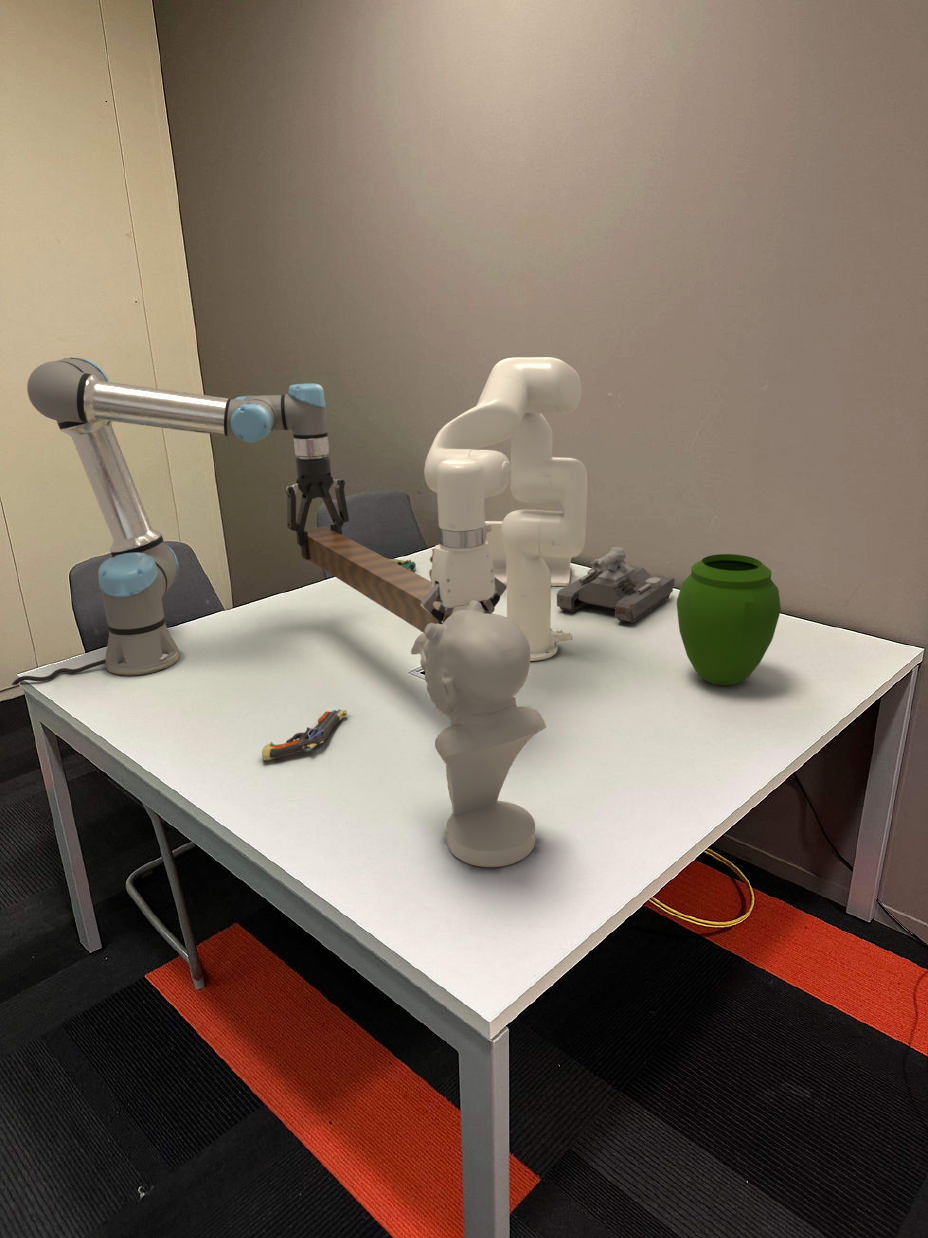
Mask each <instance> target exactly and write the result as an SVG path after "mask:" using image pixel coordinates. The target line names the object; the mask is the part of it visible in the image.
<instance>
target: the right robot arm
mask: <svg viewBox="0 0 928 1238" xmlns="http://www.w3.org/2000/svg"><path fill="white" fill-rule="evenodd" d="M582 394H583V385H582V380H581V378H580V375H579V373H578V372H577V370H576V369H574V368H573V367H572V366H571V365H570V364H568V362H567V363H566V362H565V361H564V360H561V359H559V358H556V357H550V356H549V357H507V358H505V359H502V360H500V361H498V362H497V363H496V364H494V366H493V367H492V369H491V371H490V373H489V375H488V378H487V380H486V383H485V385H484V387H483V389H482V392H481V394H480V396H479V399H478V400H477V404H476V405H475V406H474V407H472V408H470V409H467V410H466V411H465V412H462V413H461V414H460V415H458V416H456V417H455V418H453V419H452V420H450V421H449V422H447V423H446V424H444V426H442V428H440V430H439V431H438V432H437V434H436V436H435V438H434V440H433V442H432V444H431V446H430V447H429V451H428V453H427V455H426V458H425V463H424V467H423V469H424V470H423V472H424V473H423V475H424V480H425V484H426V485H427V487H428V488H429V490H430V491H432V492H434V493H436V500H437V502H436V503H437V520H438V521H437V522H438V523H437V524H438V539H439V540H438V541H439V542H438V543H439V544H436V545H435V546H434V554H433V560H432V562H431V569H432V572H431V579H430V581H431V590H430V592H429V593H428V594H427V595H426V597H425V598H424V599H423V600H422V601H421V603H420V605H421V606H422V607H423V608H424V609H425V610H426V611H427V612H428V613H429V614H431V615H432V616H433V617H434V618H436V619H437V620H438V624H443V623H444V622H445V620H446V619H447V618H448V617H450V616H451V615H452V612H453V609H454V607H459V606H463V605H467V604H469V603H470V601H472V600H474V601H478V602H480V603H481V605H482V608H483V609H485V610H487V611H488V612H490V613H492V614H494V612H495V610H496V609H495V608H496V606H497V605H498V603H499V602H500V600H501V597H502V596H503V594H504V593H505V591H506V617H507V618H509V619H511V620H512V621H513V622H514V623H515V624H516V625H517V626H518V627H519V628H520V629H521V630H522V632H523V633H524V634H525V636H526V638H527V640H528V643H529V646H530V652H531V653H530V655H531V656H530V662H535V661H536V662H537V661H543V660H547V659H550V658H552V657H554V656H555V655H556V654H557V652H558V643H559V642H568V641H569V642H570V641H572V640H573V633H572V632H571V631H563V629H556V630H553V629H552V628H551V625H552V621H551V618H552V616H551V613H552V609H551V608H552V586H551V574H550V571H549V568H548V566H547V564H546V563H545V561H544V560H543V558H542V557H541V556H547V557H564V558H571V559H572V558H577V557H578V556H580V555H581V554H582V552H583V551H584V548H585V545H586V544H585V543H586V534H587V516H588V515H587V513H588V511H587V510H588V493H589V492H588V491H589V489H588V488H589V485H588V484H589V481H588V472H587V468H586V465H585V464H584V463H583V462H582V461H581V460H579V459H578V458H573V457H555V456H554V455H553V443H554V442H553V439H554V433H553V429H552V427H551V425H550V424H549V422H548V420H547V419H546V417H545V416H544V414H550V415H552V414H553V415H566V414H567V415H568V414H572V413H574V412H575V411H576V410H577V408H578V407H579V405H580V403H581V399H582ZM509 439H510V460H509V458H508V457H507V456H506V454H504V452H501V451H497V450H494V449H481V448H486V447H489V446H493V445H497V444H499V443H501V442H504V441H506V440H509ZM509 484H510V485H509ZM508 485H509V486H510V493H511V496H512V497H513V499H514V500H516V501H518V502H521V503H527V504H528V503H529V504H542V505H559V506H561V507H562V509H563V511H561V510H546V509H530V508H529V509H528V508H526V509H523V508H522V509H516V510H513V511H510V512H509V513H508V514H506V515H505V517H504V518H503V520H502V521H503V522H502V540H503V545H504V551H505V558H506V573H507V585H505V584H504V583H502V582H501V581H500V580H498V579H497V578H495V577H494V567H493V560H492V554H491V550H490V546H489V543H488V541H486V534H487V533H488V532H491V526H490V524H487V525H486V524H485V521H486V508H485V507H486V506H485V505H486V503H485V500H486V499H488V498H493V497H495V496H498V495H501V493H503V492H504V491H505V490H506V488H507V487H508ZM435 601H436V602H440V603H439V606H438V609H436V608H435V607H434V606H433V603H434V602H435Z"/></svg>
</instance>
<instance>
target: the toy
mask: <svg viewBox="0 0 928 1238" xmlns="http://www.w3.org/2000/svg"><path fill="white" fill-rule="evenodd" d="M626 557H627V556H626V551H625V549H624V548H622V547H621V546H614V547H612V548H611V549H610V550H609V552H608V553H607V554H605V555H604V556H601V557H599V558H598V559H597V557H596V558H594V559H593V560H592V561H590V562H589V563H590V564H591V565H592V567H591V568H590V569H589V570H587V573H586V575H584V576H582V577H580V578H578V579H577V580H575V581H573V582H570V583H569V585H567V586H563V587H562V588H560V589H559V590H558V591H557V592H556V607H558V608H559V609H560V610H562V611H566V612H572V613H575V612H577V611H579V610H581V609H582V608H585V607H586V606H588V605H592V606H598V607H602V608H603V607H604V608H609V609H613V610H614V618H615V619H617V620H618V621H621V622H626V623H631V624H634V623H635V622H637V621H638V620H640V619H641V618H642V617H644V616H645V615H647V614H648V613H650V612H651V611H652V610H654V609H655V608H657V607H659V606H660V605H661V604H663V603H664V602H666V601H667V600H669V598H670V596H671V594H672V593H673V591H674V585H675V580H676V579H675V578H673V577H668V576H663V575H656V576H655V577H654V576H651V574H650V573H649V572H648V571H647V570H646V568H644V567H641V566H635V565H629V564H628V563H627V562H626V561H625V559H626Z"/></svg>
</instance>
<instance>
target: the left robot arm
mask: <svg viewBox="0 0 928 1238" xmlns="http://www.w3.org/2000/svg"><path fill="white" fill-rule="evenodd" d="M26 385H27V386H26V391H27V396H28V399H29V401H30V403H31V405H32V407H34V408H35V410H36V411H37V412H39V414H41V415H42V416H44V417H46V418H48V419H50V420H52V421H56V424H57V426H58V428H59V430H60V432H62V433H64V434H66V435H68V436H70V437H71V440H72V442H73V445H74V447H75V449H76V452H77V455H78V457H79V460H80V462H81V464H82V467H83V470H84V472H85V475H86V476H87V479H88V482H89V484H90V486H91V489H92V491H93V494H94V496H95V498H96V501H97V504H98V506H99V509H100V511H101V513H102V516H103V519H104V521H105V523H106V525H107V529H108V530H109V533H110V536H111V538H112V540H113V541H112V544H111V545H110V548H109V552H110V554H111V557H109V558H108V559H106V560H105V561H103V562H102V563H101V564H100V566H99V568H98V586H99V589H100V593H101V598H102V603H103V608H104V614H105V618H106V624H107V629H108V634H109V635H108V639H107V646H106V652H105V658H103V659H101V660H98V661H95V662H91V663H89V664H86V665H83V666H80V667H77V668H68V667H62V668H58V669H55V670H54V671H53V672H52V673H50V674H49V675H46V676H33V675H22V676H20V677H17V678H16V679H15V680H13V682H12V684H11V686H17V685H18V684H20V683H21V682H24V681H33V682H47V681H50V680H52V679H54V678H55V677H56V676H57V675H59V674H62V673H63V674H64V673H67V674H78V673H81V672H84V671H87V670H90V669H92V668H95V667H99V666H103V665H105V668H106V670H107V671H108V672H109V673H111V674H114V675H119V676H140V675H147V674H153V673H156V672H158V671H162V670H165V669H167V668H169V667H171V666H172V665H175V664H176V663H177V661H178V660H179V659H180V651H179V647H178V645H177V643H176V641H175V639H174V638H173V635H172V634H171V632H170V630H169V629H168V627H167V625H166V619H165V613H164V612H165V611H164V606H163V600H162V599H163V598H164V596H165V595H166V593H167V592H168V591H169V590H170V589H171V588H172V587H173V586H174V584H175V583H176V580H177V577H178V575H179V574H178V573H179V560H178V557H177V555H176V553H175V552H174V550H173V549H172V548H171V547H170V546H169V545H167V544H166V542H165V540H164V537H163V535H162V533H161V532H160V531H159V530H155V529H153V528H152V525H151V523H150V521H149V518H148V515H147V513H146V510H145V509H144V505H143V502H142V500H141V498H140V495H139V491H138V490H137V487H136V485H135V482H134V479H133V477H132V473H131V472H130V469H129V467H128V463H127V461H126V459H125V456H124V454H123V451H122V449H121V445H120V444H119V441H118V438H117V436H116V433H115V430H114V428H113V422H115V423H116V422H117V423H124V424H130V425H139V426H147V427H155V428H162V429H169V430H177V431H178V430H179V431H185V432H193V433H200V434H208V435H216V436H224V437H230V438H236V439H239V440H240V441H241V442H244V443H249V444H252V443H253V444H254V443H258V442H261V441H263V440H264V439H266V438H267V437H268V436H269V435H270V433H271V432H275V431H291V430H292V436H293V443H294V444H293V446H294V455H295V456H296V458H295V468H296V476H297V477H296V481H295V483H293V484H291V485H285V486H284V491H285V493H286V504H287V505H286V527H287V528H288V530H291V531H292V532H295V534H296V543H297V545H298V546H299V547H300V546H302V556H301V557H302V558H303V559H304V560H306V561H309V560H310V555H309V544H308V533H307V531H305V530H306V529H305V527H306V524H307V520H308V519H307V518H308V515H309V510H310V506H311V504H312V501H313V500H314V499H317V498H321V499H322V501H323V503H324V506H325V507H326V509H327V512H328V514H329V516H330V518H331V520H332V523H333V524H330V527H329V528H330V529H331V530H333V531H335V532H337V533H339V534H341V535H343V530H342V527H343V526H344V523H348V522H349V521H350V518H349V510H348V506H347V505H348V504H347V500H346V495H345V484H346V481H345V480H344V479H341V478H340V477H338V478H333V476H332V469H331V468H332V467H331V458H330V455H329V454H330V444H329V434H328V433H329V431H328V419H327V418H328V417H327V404H326V399H325V392H324V388H323V386H322V385H321V384H318V383H295V384H291V385H289V386H288V393H286V394H274V395H272V394H271V395H270V394H268V395H252V394H249V395H244V396H236V398H234V399H233V398H228V397H220V396H213V395H205V394H200V393H199V394H198V393H190V392H185V391H176V390H169V389H164V388H156V387H148V386H142V385H135V384H128V383H127V384H126V383H121V382H112V381H110V379H109V378H108V376H107V374H106V372H105V371H104V370H103V369H102V368H101V367H100V366H99V365H98V364H97V363H94V362H93V361H91V360H89V359H86V358H82V357H73V356H71V357H63V358H62V359H58V360H51V361H47V362H44V363H42V364H39V366H37V367H36V368H34V369H33V371H32V372H31V373H30V375H29V377H28V380H27V383H26ZM332 486H333V488H334V491H335V497H336V503H337V508H336V506H335V503H334V501H333V499H332V495H331V493H330V489H331V488H332ZM298 490H299V491H300V492H301V497H300V504H299V505H300V506H299V508H298V513H297V494H298ZM337 509H338V510H337Z"/></svg>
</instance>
